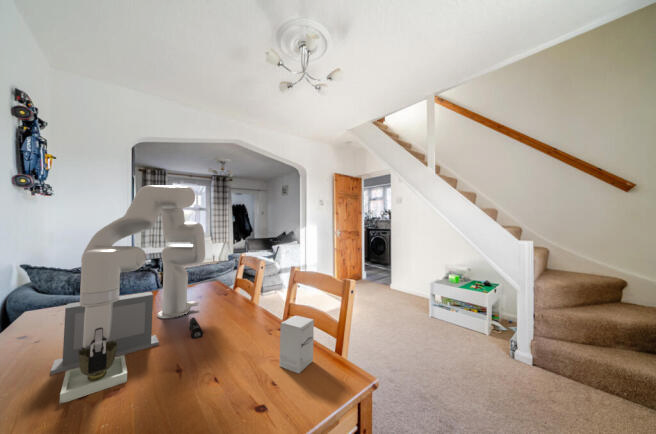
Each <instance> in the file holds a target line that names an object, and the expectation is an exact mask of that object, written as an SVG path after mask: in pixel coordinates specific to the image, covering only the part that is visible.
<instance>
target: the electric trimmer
mask: <svg viewBox="0 0 656 434" xmlns="http://www.w3.org/2000/svg"><path fill="white" fill-rule="evenodd" d="M188 328H189V330H190V331H191V339H193V340H196V339H199V338H203V336H204V331H203V329H202V327H201V326H200V324H199V322H198V320H197V319H196V318H195V317H194V316H193V317H191V319H190V320H189V327H188Z"/></svg>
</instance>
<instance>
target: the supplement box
mask: <svg viewBox="0 0 656 434" xmlns="http://www.w3.org/2000/svg"><path fill="white" fill-rule="evenodd" d="M314 321H315V319H313V318H308V317H304V316H301V315H294V316H292V317H289V318H287V319H286V320H284V321H282V322H281V323H280V330H279V331H280V337H279V340H280V341H279V367H281V368H282V369H285V370H288V371H291V372H293V373H296V374H300V373H301V372H303V371H304V369H306V368H307V367H308V366H309V365H310V364H311V363H312V362H313V361H314V334H315V333H314V328H315V327H314V326H315V325H314V324H315V322H314Z"/></svg>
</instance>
